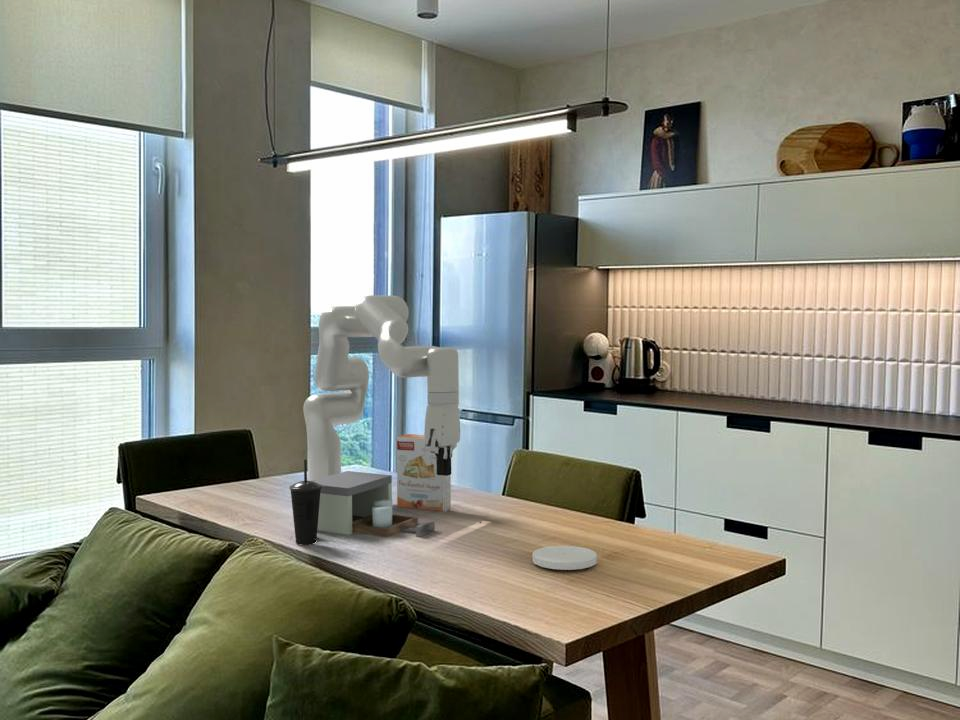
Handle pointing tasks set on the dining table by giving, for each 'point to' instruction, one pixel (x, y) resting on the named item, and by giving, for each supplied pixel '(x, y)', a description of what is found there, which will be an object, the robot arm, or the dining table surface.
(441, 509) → the cracker box
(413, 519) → the tray
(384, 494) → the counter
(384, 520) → the pale blue cylinder
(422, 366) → the robot arm
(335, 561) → the dining table surface
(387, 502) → the pale tall cylinder
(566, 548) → the plastic lid
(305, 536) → the drinking cup
